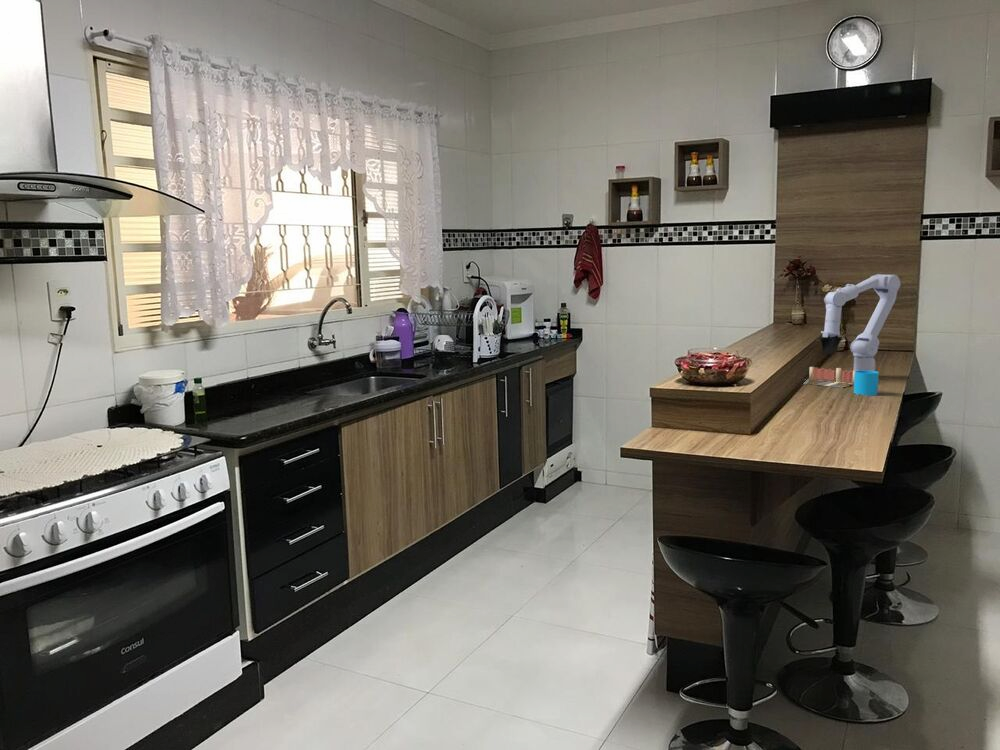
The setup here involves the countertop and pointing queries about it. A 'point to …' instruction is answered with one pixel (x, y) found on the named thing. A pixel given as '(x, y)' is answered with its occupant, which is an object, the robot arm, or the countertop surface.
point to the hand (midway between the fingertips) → (829, 354)
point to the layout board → (828, 383)
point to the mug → (866, 382)
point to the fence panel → (821, 374)
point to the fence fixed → (845, 375)
